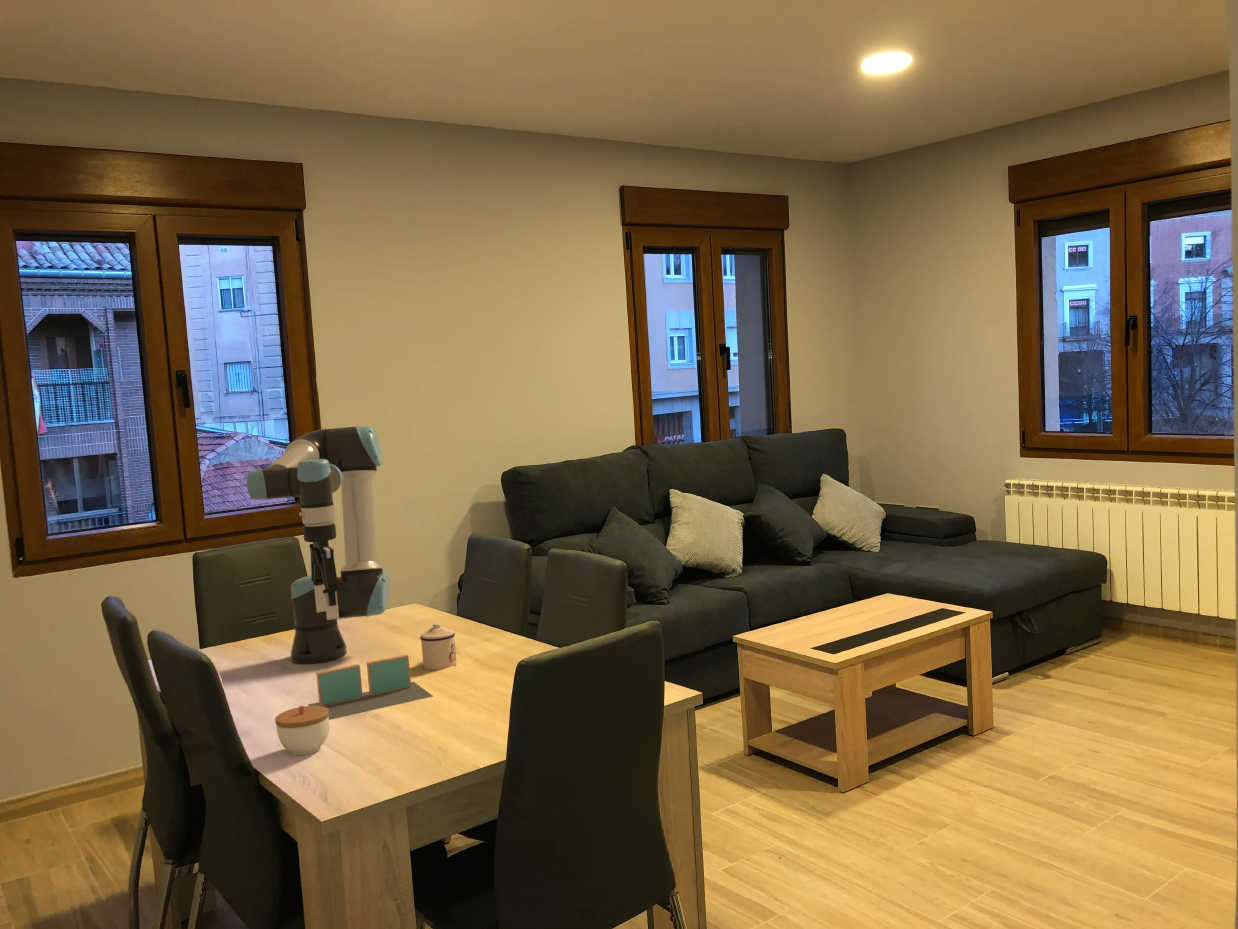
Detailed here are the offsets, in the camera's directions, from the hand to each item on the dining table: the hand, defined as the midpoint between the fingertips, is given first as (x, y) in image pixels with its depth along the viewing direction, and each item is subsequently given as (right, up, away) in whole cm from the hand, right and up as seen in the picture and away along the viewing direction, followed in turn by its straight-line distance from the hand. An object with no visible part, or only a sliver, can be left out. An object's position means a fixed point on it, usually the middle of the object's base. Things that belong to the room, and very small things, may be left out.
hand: (327, 615), depth 242 cm
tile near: (+4, -20, -3) cm, 21 cm away
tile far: (+15, -19, +2) cm, 24 cm away
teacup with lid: (+23, -17, +24) cm, 38 cm away
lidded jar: (+5, -23, -33) cm, 41 cm away
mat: (+11, -20, -4) cm, 24 cm away
